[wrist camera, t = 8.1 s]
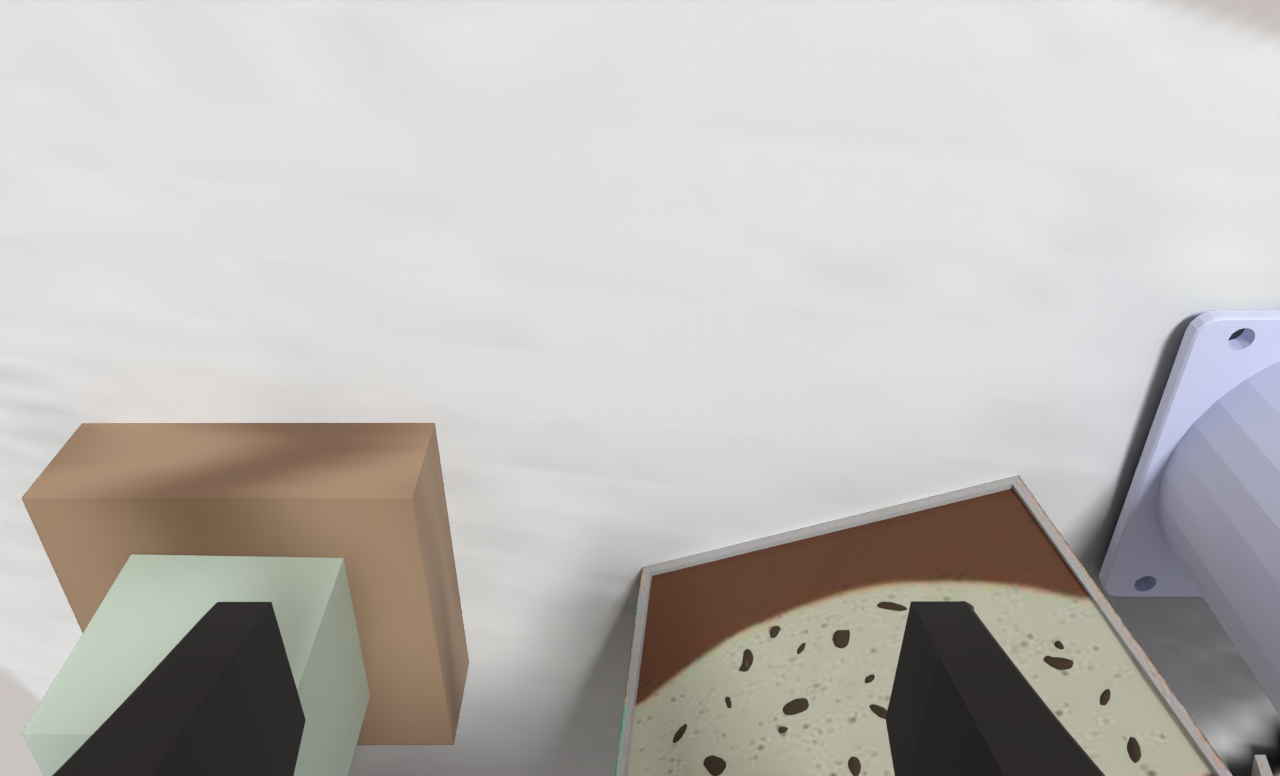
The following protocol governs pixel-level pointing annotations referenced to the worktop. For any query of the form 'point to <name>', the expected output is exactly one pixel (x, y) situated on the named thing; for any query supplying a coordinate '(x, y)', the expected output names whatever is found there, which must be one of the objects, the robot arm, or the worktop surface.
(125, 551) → the walnut block
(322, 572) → the sage cube
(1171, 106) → the worktop surface
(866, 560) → the food container
